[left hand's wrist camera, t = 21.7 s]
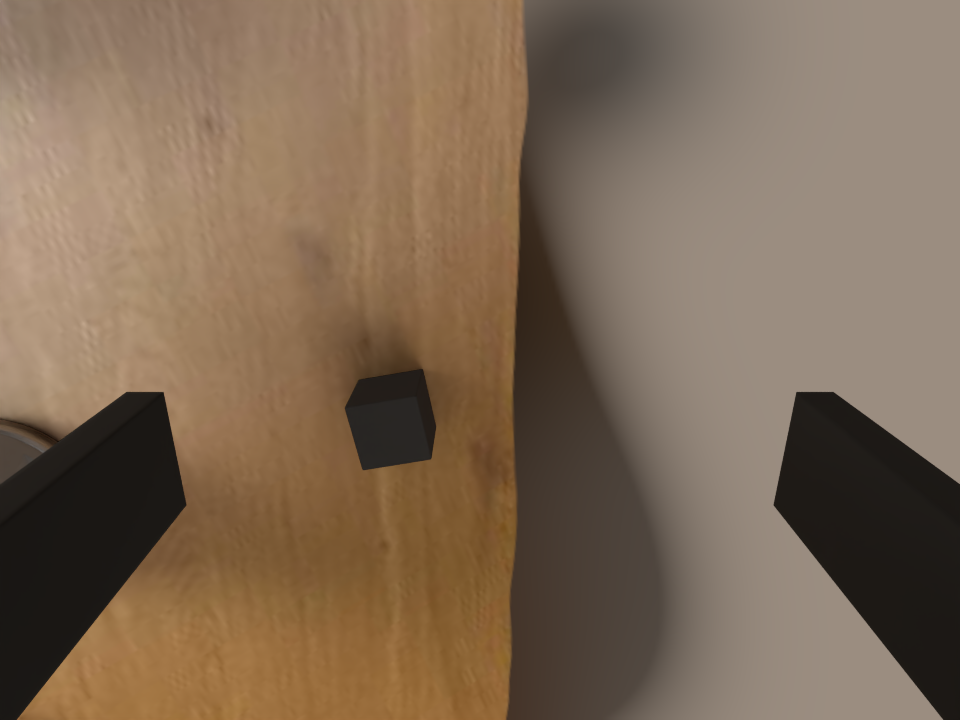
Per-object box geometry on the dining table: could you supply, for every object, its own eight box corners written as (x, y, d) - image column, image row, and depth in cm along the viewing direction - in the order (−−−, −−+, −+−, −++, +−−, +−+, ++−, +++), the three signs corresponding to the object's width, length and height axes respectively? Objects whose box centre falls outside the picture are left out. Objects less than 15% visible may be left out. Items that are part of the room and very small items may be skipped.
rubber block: (436, 427, 47) (431, 459, 42) (374, 437, 47) (362, 470, 42) (422, 368, 45) (416, 395, 40) (358, 379, 45) (344, 407, 41)
